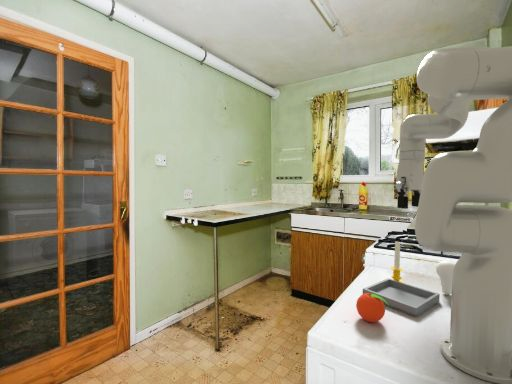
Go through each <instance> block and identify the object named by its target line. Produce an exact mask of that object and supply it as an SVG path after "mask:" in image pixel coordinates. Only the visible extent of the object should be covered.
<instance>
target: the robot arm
mask: <svg viewBox="0 0 512 384" xmlns="http://www.w3.org/2000/svg"><path fill="white" fill-rule="evenodd" d="M417 69H418V70H417V74H416V84H417V88H418V89H419V90H420V91H421V92H423V93H424V94H426V95H427V104H428V107H429V108H430V109H431V111H433V112H434V113H423V114H422V113H420V114H410V115H408V116H407V117H405V118H404V120H403V121H402V123H401V124H400V127H399V155H398V164H397V171H396V177H395V178H396V179H395V190H396V197H397V202H396V203H397V205H396V207H397V208H398V209H405V210H408V209H409V196H408V195H409V193H410V192H412V195H411V206H412V207H415V208H416V207H417V210H416V217H415V222H414V223H415V224H414V233H415V234H414V235H415V238H416V241H417V243H418V244H419V245H420V246H421V247H422V248H424V249H426V250H429V251H433V252H443V253H444V252H445V253H448V252H449V253H463V254H462V255H461V256H460V257H459V258H458V260H457V261H456V263H455V266H454V269H453V273H452V293H451V295H450V296H451V297H450V298H451V299H450V302H451V303H450V324H449V325H450V326H449V327H450V329H449V337H447V338H445V339H443V340H441V342H440V352H441V354H442V355H443V357H444V358H445V359H446V360H447V362H449V363H450V364H452V365H453V366H455V367H456V368H458V369H459V370H461V371H463V372H464V373H466V374H469V375H470V376H472V377H475V378H478V379H480V380H483V381H486V382H489V383H494V384H512V210H511V209H509V208H506V207H501V206H498V205H487V204H504V203H506V204H507V203H512V46H510V45H509V46H502V47H501V46H500V47H491V46H490V47H489V46H485V45H475V46H474V45H473V46H461V47H460V46H459V47H449V48H440V49H434V50H432V51H431V52H430V53H428V54H427V55H426V56H425V57H424V58H423V60H422V61H421V63H420V65H419V67H418V68H417ZM495 99H497V100H498V99H499V100H500V99H507V100H506V101H505V102H504V103H502V104H501V105H500V106H499V107H498V108H496V109H495V110H494V111H493V112H492V113H491V114H490V115H489V117H488V118H487V119H486V120H485V121H484V123H483V124H482V126H481V129H480V133H479V138H478V141H477V144H476V147H475V148H474V149H473V150H472V151H468V150H466V151H447V152H443V153H442V152H441V153H439V154H437V155H435V156H434V157H433V158H432V159H431V160H430V161H429V163H428V164H427V166H426V168H425V170H424V162H426V161H425V159H426V142H427V141H426V140H436V139H437V140H438V139H439V140H441V139H442V140H443V139H448V138H450V137H452V136H454V135H455V134H457V132H459V131H460V130H461V129H462V128H463V127H464V126H465V125H466V122H467V120H468V118H469V111H470V108H469V104H468V103H469V102H470V101H477V100H478V101H479V100H481V101H482V100H483V101H484V100H495ZM460 203H470V204H460ZM471 203H472V204H471ZM473 203H477V204H473ZM478 203H479V204H478ZM480 203H481V204H482V205H481V204H480ZM485 204H486V205H485Z"/></svg>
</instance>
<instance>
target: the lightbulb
mask: <svg viewBox="0 0 512 384" xmlns="http://www.w3.org/2000/svg"><path fill="white" fill-rule="evenodd" d="M455 264H456V263H455V262H453V261H450V260H442V261H440V262H438V263H437V264H436V267H435V271H436V273H437V275H438V277H439V279H440V285H441V292H442V293H444V295H445V296H449V295H452V273H453V269H454V266H455Z"/></svg>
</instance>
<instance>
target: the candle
mask: <svg viewBox="0 0 512 384" xmlns="http://www.w3.org/2000/svg"><path fill="white" fill-rule="evenodd" d="M400 259H401V242H400V241H398V240H397V241H396V240H395V243H394V266H391V267H390V269H391V270H392V274H391V279H392V280H395V281H399V282H402V283H405V282H404V281H402V276H401V272H402V271H403V270H404V269H403V268H402V267H400V266H401V262H400V261H401V260H400Z"/></svg>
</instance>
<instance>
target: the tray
mask: <svg viewBox="0 0 512 384" xmlns="http://www.w3.org/2000/svg"><path fill="white" fill-rule="evenodd" d="M392 279H393V278H386V279H384V280H383V279H382V280H381V281H378V282H376V283H373V284H371V285H368V286H365V287H363V288H362V295H363V294H365V293H372V294H375V295H377V296H380V297H381V298H383V299H384V300H385V301H386V302H387V303H388V304H387V303H386V302H385V301H383V300H382V301H383V303H384V306H385V305H386V306H385V307H388V308H390V309H393V310H395V311H398V312H401V313H403V314H406V315H409V316H411V317H413V318H417V317H419V316H420V315H422V314H424V313H425V312H427V311H428V310H430V309H431V308H432V307H434V306H436V305H437V304H439V303H440V297H441V296H440V293H439V292H438V293H437V292H435V291H431V290H428V289H424V288H421V287H418V286H415V285H412V284H408V283H405V282H404V283H402V282H403V281H402V282H399V281H395V280H392ZM388 305H389V306H388Z"/></svg>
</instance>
